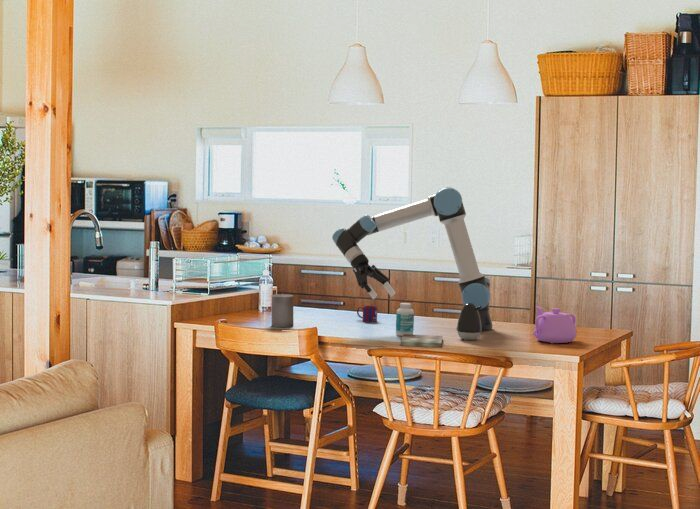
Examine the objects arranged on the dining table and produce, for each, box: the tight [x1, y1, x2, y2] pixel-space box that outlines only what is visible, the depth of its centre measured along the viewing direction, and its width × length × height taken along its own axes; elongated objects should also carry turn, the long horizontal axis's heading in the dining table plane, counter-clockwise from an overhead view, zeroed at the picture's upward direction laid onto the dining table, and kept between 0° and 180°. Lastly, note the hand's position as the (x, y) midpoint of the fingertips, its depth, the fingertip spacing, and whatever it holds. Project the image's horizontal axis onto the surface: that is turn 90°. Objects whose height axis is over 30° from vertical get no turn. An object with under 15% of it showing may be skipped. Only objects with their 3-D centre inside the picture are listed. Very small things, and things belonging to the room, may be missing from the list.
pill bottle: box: [395, 302, 415, 337], centre depth 396 cm, size 8×7×14 cm
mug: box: [356, 305, 378, 323], centre depth 438 cm, size 7×10×7 cm
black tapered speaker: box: [456, 303, 483, 341], centre depth 388 cm, size 10×10×15 cm
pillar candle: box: [271, 293, 294, 328], centre depth 415 cm, size 10×10×15 cm
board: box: [399, 334, 443, 348], centre depth 378 cm, size 16×20×2 cm
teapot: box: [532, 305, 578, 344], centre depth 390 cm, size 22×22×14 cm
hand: (384, 296), depth 401 cm, fingers open, 13 cm apart
